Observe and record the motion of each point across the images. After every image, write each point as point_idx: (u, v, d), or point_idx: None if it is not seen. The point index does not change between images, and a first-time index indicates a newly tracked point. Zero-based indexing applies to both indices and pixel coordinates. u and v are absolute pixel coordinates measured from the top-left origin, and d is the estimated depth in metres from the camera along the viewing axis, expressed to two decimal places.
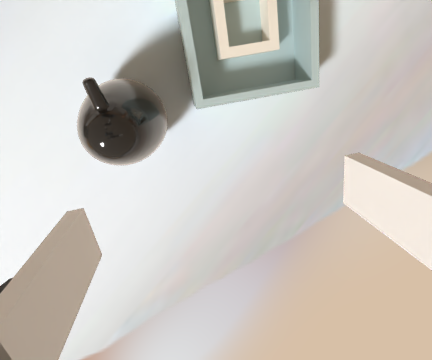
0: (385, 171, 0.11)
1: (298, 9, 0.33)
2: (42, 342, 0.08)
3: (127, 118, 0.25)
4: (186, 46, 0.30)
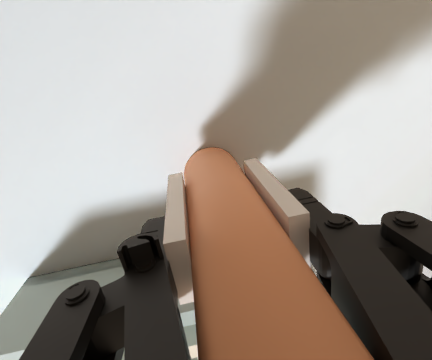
0: (260, 175, 0.13)
1: None
2: None
3: None
4: None
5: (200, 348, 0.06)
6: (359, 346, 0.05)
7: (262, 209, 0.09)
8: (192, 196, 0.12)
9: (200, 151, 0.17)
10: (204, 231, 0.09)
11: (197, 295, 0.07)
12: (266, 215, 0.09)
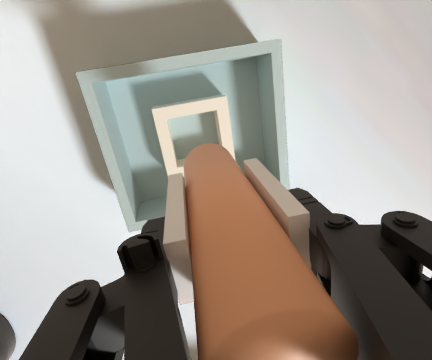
0: (260, 175, 0.13)
1: None
2: None
3: None
4: None
5: (196, 305, 0.07)
6: (325, 296, 0.06)
7: (253, 195, 0.11)
8: (191, 186, 0.13)
9: (198, 147, 0.18)
10: (201, 214, 0.10)
11: (194, 266, 0.08)
12: (256, 200, 0.10)
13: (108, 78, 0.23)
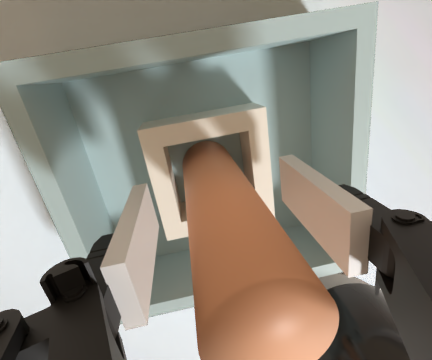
0: (302, 171, 0.12)
1: (183, 60, 0.15)
2: (142, 281, 0.10)
3: None
4: None
5: (194, 282, 0.08)
6: (309, 270, 0.07)
7: (247, 187, 0.11)
8: (189, 180, 0.14)
9: (197, 144, 0.18)
10: (198, 204, 0.11)
11: (192, 249, 0.09)
12: (250, 191, 0.11)
13: (49, 77, 0.12)
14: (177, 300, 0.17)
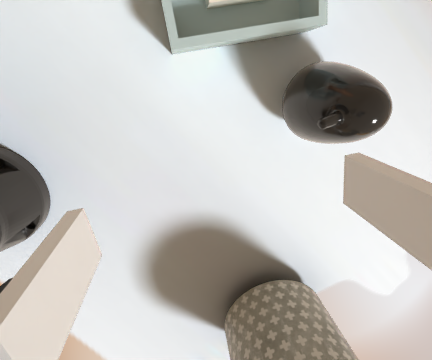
0: (385, 171, 0.11)
1: None
2: (42, 342, 0.08)
3: (357, 93, 0.25)
4: (267, 33, 0.30)
5: None
6: None
7: None
8: None
9: None
10: None
11: None
12: None
13: None
14: (216, 34, 0.29)
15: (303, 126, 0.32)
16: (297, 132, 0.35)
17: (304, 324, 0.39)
